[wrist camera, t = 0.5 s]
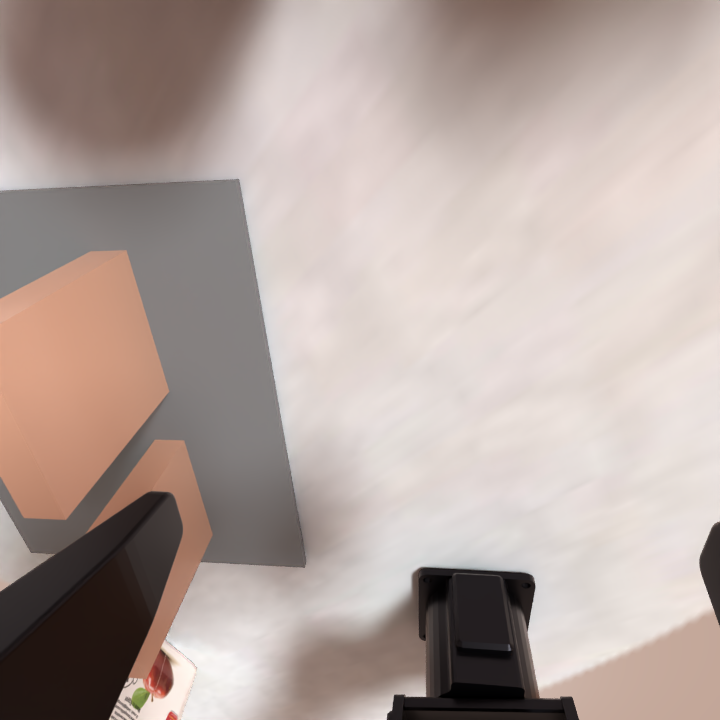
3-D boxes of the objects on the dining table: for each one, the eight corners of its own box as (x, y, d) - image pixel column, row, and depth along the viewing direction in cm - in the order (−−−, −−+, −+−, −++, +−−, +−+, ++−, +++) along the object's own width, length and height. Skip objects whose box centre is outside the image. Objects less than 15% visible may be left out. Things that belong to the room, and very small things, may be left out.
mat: (306, 561, 30) (304, 567, 29) (35, 547, 32) (31, 552, 32) (239, 179, 19) (235, 181, 18) (-164, 198, 21) (-174, 200, 21)
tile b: (169, 391, 24) (65, 519, 17) (135, 391, 24) (19, 517, 17) (126, 250, 20) (-26, 339, 13) (87, 251, 21) (-82, 339, 14)
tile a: (212, 534, 29) (146, 679, 22) (184, 533, 29) (109, 676, 22) (184, 440, 25) (94, 576, 18) (152, 439, 25) (51, 573, 19)
